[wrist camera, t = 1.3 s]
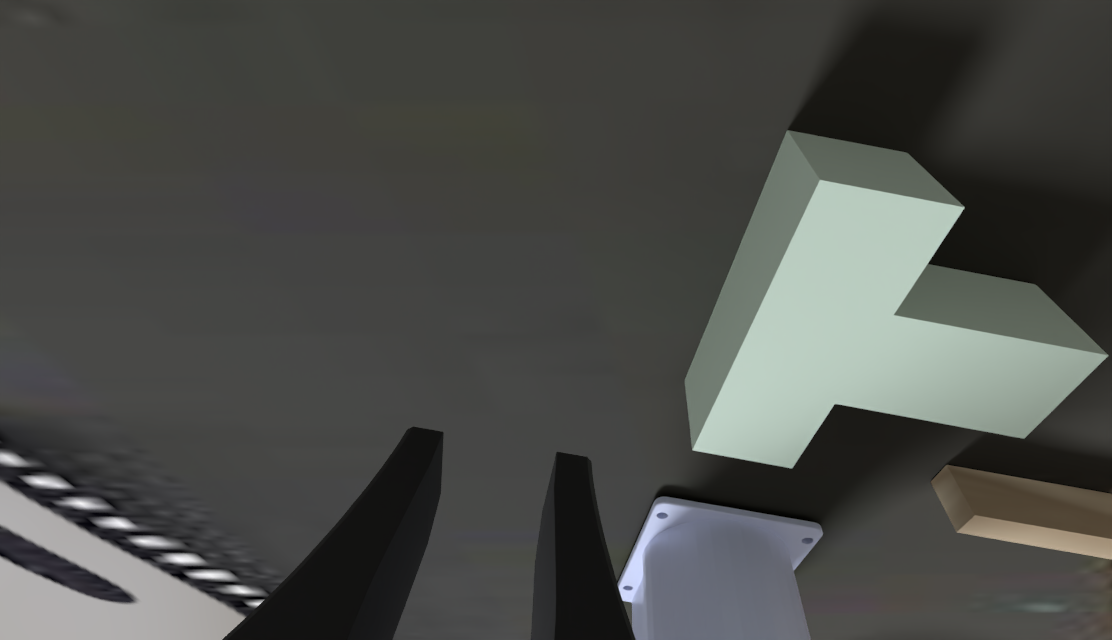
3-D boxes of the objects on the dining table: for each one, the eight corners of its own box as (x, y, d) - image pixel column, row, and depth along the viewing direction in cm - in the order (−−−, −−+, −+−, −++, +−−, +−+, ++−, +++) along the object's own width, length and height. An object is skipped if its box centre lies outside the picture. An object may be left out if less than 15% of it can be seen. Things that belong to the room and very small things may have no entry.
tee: (920, 423, 22) (961, 499, 20) (684, 379, 22) (692, 450, 19) (1111, 191, 16) (1211, 254, 13) (787, 129, 16) (819, 179, 13)
